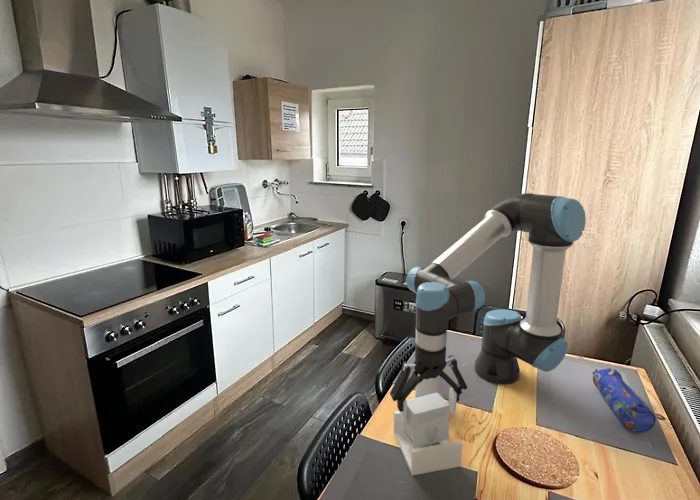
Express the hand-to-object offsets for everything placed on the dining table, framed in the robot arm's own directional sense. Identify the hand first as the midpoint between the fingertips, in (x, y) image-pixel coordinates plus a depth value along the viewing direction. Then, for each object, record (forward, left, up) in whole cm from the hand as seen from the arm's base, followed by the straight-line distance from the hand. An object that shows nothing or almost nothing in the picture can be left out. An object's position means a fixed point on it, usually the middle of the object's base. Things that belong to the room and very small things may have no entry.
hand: (428, 415), depth 100 cm
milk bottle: (-9, -20, -10) cm, 24 cm away
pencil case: (-64, -2, -11) cm, 65 cm away
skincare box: (+1, 0, -6) cm, 6 cm away
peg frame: (0, 0, -10) cm, 10 cm away
